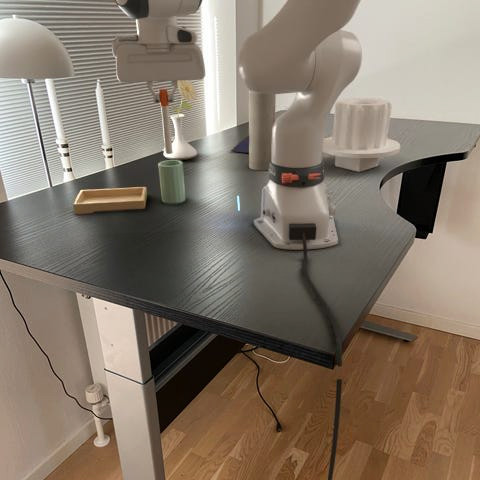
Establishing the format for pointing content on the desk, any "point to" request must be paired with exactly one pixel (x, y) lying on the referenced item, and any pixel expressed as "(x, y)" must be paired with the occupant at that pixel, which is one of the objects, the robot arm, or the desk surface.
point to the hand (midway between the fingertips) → (164, 102)
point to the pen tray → (110, 199)
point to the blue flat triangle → (242, 146)
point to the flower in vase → (180, 145)
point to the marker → (165, 120)
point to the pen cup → (172, 181)
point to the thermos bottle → (260, 129)
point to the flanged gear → (360, 133)
